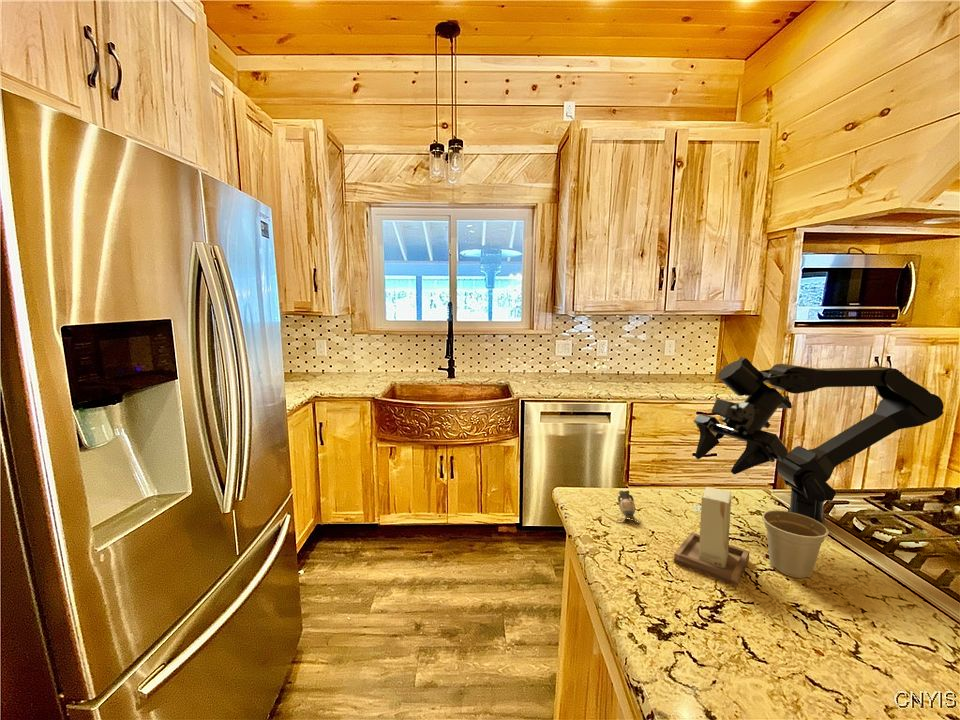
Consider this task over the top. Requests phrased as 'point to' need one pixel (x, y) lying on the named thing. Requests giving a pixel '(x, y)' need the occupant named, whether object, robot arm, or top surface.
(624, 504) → the vase
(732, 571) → the walnut tray
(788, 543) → the flower pot
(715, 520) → the skincare box
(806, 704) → the top surface
